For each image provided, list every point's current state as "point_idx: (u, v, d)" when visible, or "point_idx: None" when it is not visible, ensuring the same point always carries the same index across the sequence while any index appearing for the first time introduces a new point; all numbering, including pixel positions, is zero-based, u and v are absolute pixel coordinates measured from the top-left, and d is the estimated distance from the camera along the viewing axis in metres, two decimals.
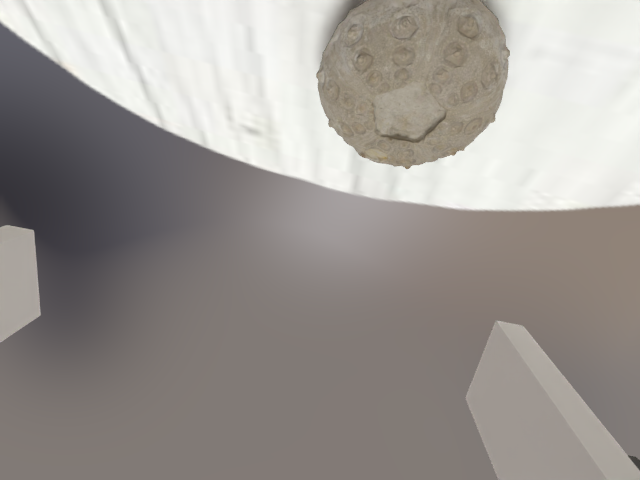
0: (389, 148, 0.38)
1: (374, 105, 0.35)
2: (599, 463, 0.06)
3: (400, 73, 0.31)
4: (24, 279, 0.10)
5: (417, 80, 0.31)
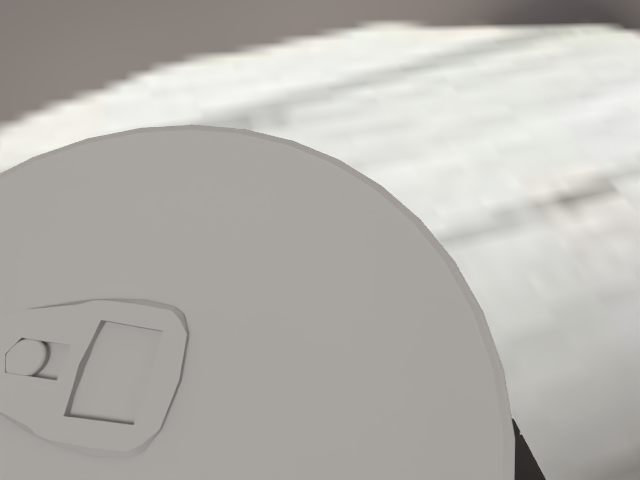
0: None
1: None
2: None
3: None
4: None
5: None
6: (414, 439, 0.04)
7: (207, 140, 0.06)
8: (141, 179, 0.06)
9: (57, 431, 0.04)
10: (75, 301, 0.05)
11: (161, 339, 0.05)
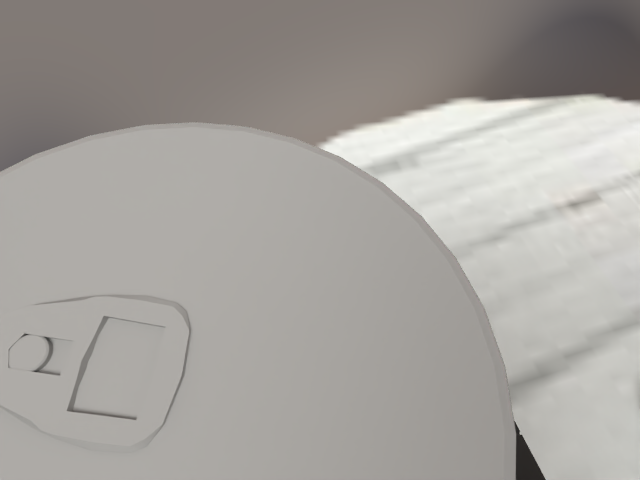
0: None
1: None
2: None
3: None
4: None
5: None
6: (415, 435, 0.04)
7: (209, 137, 0.06)
8: (143, 176, 0.06)
9: (60, 426, 0.04)
10: (78, 298, 0.05)
11: (163, 335, 0.05)
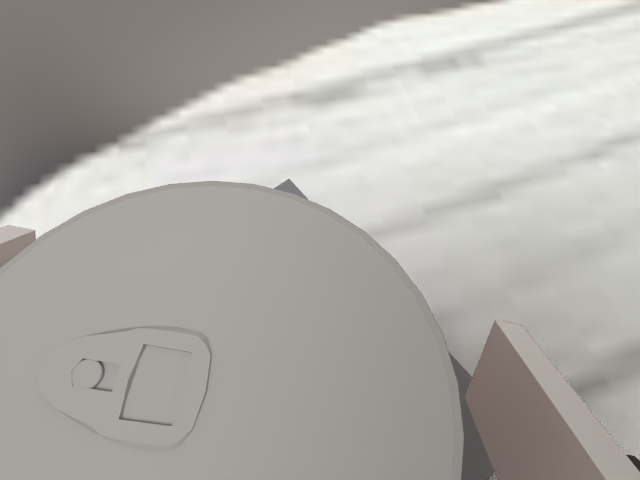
0: None
1: None
2: (597, 462, 0.06)
3: None
4: None
5: None
6: (387, 437, 0.06)
7: (223, 194, 0.07)
8: (171, 227, 0.07)
9: (113, 431, 0.06)
10: (123, 329, 0.06)
11: (191, 359, 0.06)
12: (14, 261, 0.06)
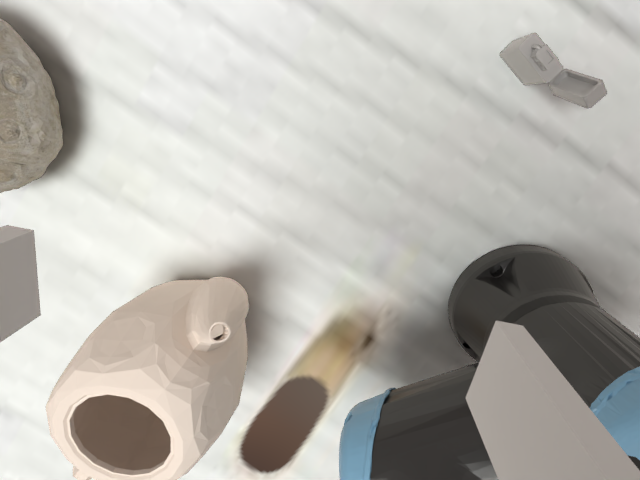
0: None
1: None
2: (599, 463, 0.06)
3: None
4: (24, 279, 0.10)
5: None
6: None
7: None
8: None
9: None
10: None
11: None
12: None
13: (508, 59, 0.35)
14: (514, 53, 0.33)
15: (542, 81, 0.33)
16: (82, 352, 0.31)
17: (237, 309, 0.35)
